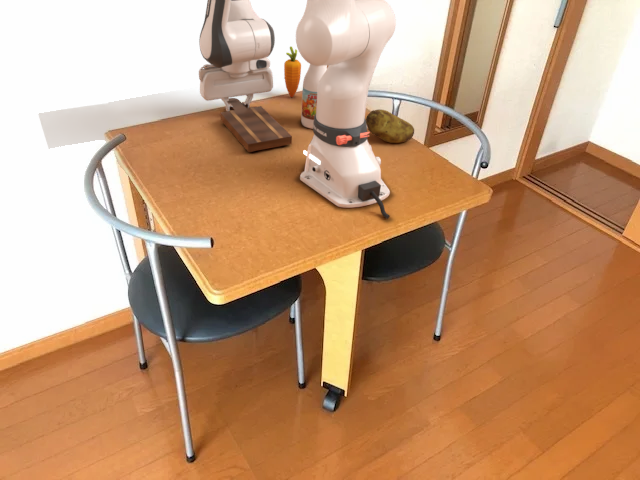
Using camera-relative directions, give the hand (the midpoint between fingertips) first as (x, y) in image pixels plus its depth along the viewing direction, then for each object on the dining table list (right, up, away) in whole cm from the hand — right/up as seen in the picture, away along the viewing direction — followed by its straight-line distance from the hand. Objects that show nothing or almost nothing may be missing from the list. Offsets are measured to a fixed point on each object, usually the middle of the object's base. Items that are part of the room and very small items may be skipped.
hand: (237, 109), depth 155 cm
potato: (+41, -9, -5) cm, 43 cm away
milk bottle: (+22, -4, 0) cm, 22 cm away
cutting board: (+4, -6, -5) cm, 9 cm away
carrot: (+14, +7, +14) cm, 21 cm away
